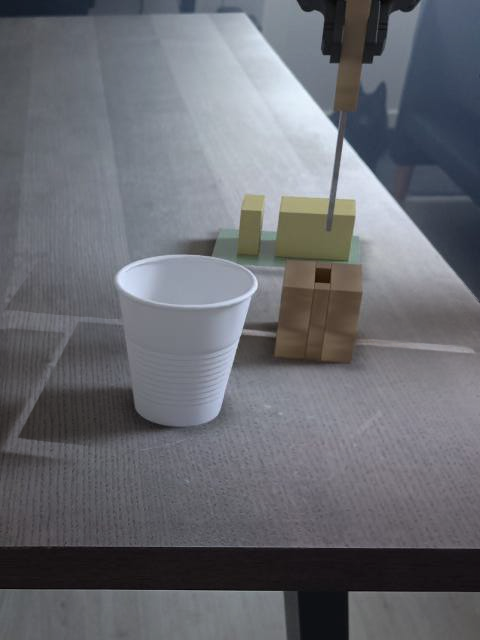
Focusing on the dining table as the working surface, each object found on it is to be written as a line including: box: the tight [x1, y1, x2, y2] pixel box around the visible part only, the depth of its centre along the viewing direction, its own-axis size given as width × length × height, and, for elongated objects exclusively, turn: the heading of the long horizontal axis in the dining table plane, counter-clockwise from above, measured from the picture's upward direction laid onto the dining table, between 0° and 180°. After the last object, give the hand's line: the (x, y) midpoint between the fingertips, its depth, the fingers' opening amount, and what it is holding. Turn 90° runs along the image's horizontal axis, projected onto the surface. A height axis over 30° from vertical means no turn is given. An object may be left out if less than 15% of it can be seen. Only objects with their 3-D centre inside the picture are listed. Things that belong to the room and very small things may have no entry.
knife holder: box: [273, 260, 364, 364], centre depth 84 cm, size 6×6×7 cm
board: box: [211, 228, 361, 268], centre depth 104 cm, size 14×10×2 cm
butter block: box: [274, 195, 357, 261], centre depth 101 cm, size 7×5×4 cm
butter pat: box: [237, 194, 266, 255], centre depth 103 cm, size 2×5×4 cm, turn 164°
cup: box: [113, 254, 259, 428], centre depth 75 cm, size 10×10×11 cm
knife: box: [326, 0, 371, 232], centre depth 76 cm, size 2×3×17 cm, turn 164°
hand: (352, 56), depth 72 cm, fingers closed on knife, 1 cm apart
